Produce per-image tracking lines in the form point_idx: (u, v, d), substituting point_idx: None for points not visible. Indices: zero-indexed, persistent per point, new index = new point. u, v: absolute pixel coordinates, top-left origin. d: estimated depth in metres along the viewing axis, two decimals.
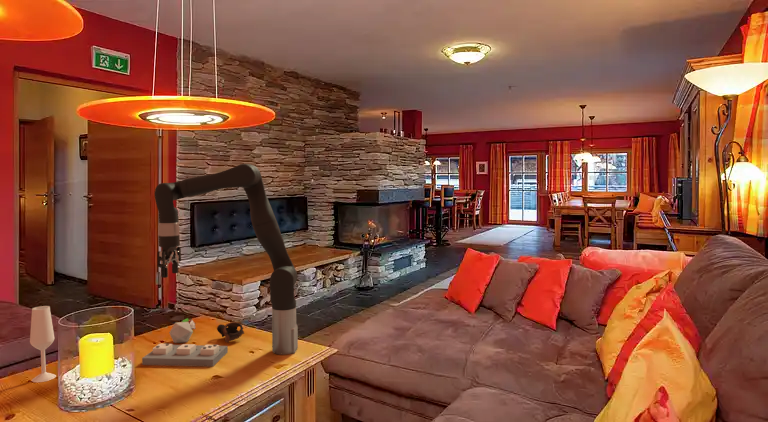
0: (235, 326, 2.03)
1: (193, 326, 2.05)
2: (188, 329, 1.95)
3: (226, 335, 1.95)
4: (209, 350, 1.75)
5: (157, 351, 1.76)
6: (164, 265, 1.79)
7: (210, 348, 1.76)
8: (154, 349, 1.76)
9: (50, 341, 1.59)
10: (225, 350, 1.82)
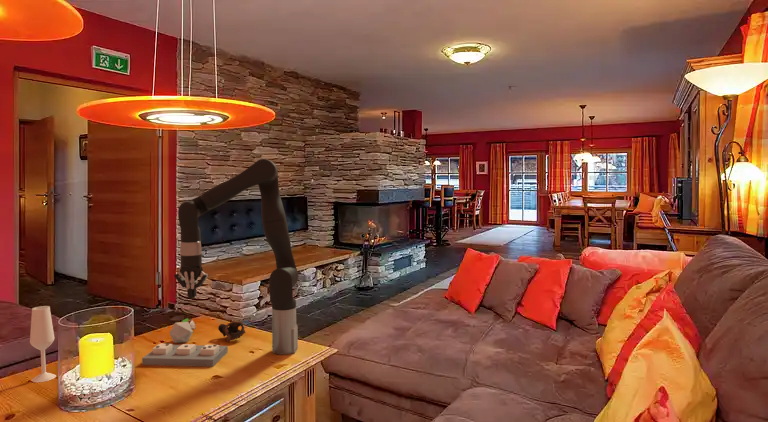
0: (236, 326, 2.03)
1: (193, 326, 2.05)
2: (188, 329, 1.95)
3: (227, 334, 1.96)
4: (209, 350, 1.75)
5: (157, 351, 1.76)
6: None
7: (210, 348, 1.76)
8: (154, 349, 1.76)
9: (50, 341, 1.59)
10: (225, 350, 1.82)
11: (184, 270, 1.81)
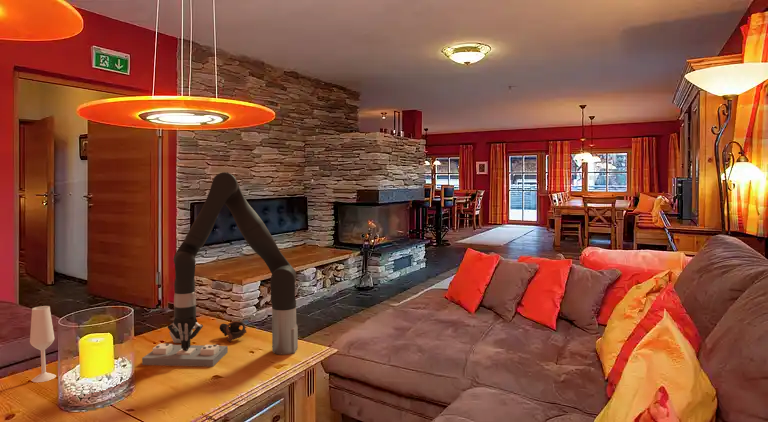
0: (237, 325, 2.04)
1: None
2: None
3: (229, 334, 1.96)
4: (209, 350, 1.75)
5: (157, 351, 1.76)
6: (194, 335, 1.79)
7: (210, 348, 1.76)
8: (154, 349, 1.76)
9: (50, 341, 1.59)
10: (225, 350, 1.82)
11: (178, 321, 1.77)
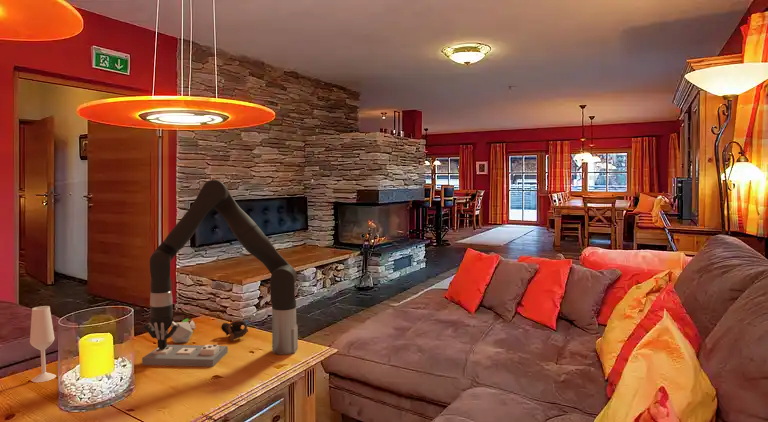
0: (239, 324, 2.05)
1: (193, 326, 2.05)
2: (188, 329, 1.95)
3: (230, 333, 1.97)
4: (209, 350, 1.75)
5: None
6: (171, 335, 1.79)
7: (210, 348, 1.76)
8: (154, 352, 1.76)
9: (50, 341, 1.59)
10: (225, 350, 1.82)
11: (154, 321, 1.77)
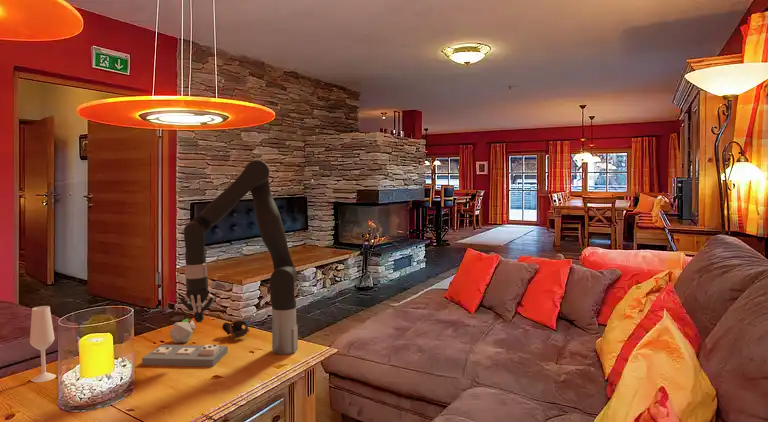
0: (240, 324, 2.05)
1: (193, 326, 2.05)
2: (188, 329, 1.95)
3: (232, 333, 1.98)
4: (209, 350, 1.75)
5: None
6: (207, 307, 1.78)
7: (210, 348, 1.76)
8: (154, 353, 1.76)
9: (50, 341, 1.59)
10: (225, 350, 1.82)
11: (190, 293, 1.75)
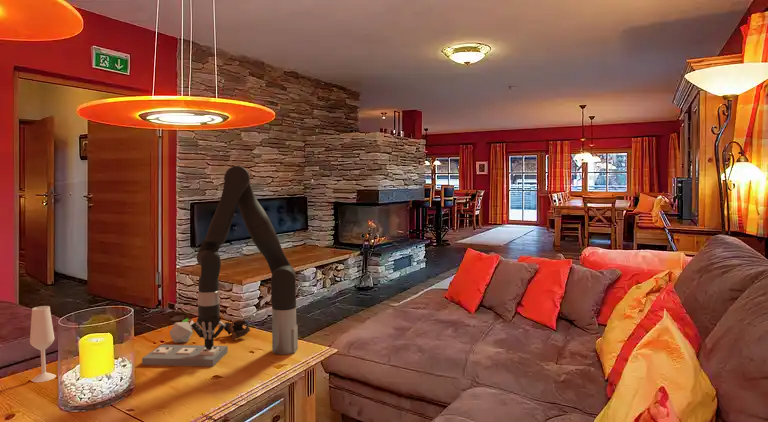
0: (241, 324, 2.06)
1: None
2: (188, 329, 1.95)
3: (233, 332, 1.98)
4: (209, 352, 1.75)
5: None
6: (217, 334, 1.79)
7: (210, 350, 1.76)
8: (154, 353, 1.76)
9: (50, 341, 1.59)
10: (225, 350, 1.82)
11: (201, 320, 1.76)
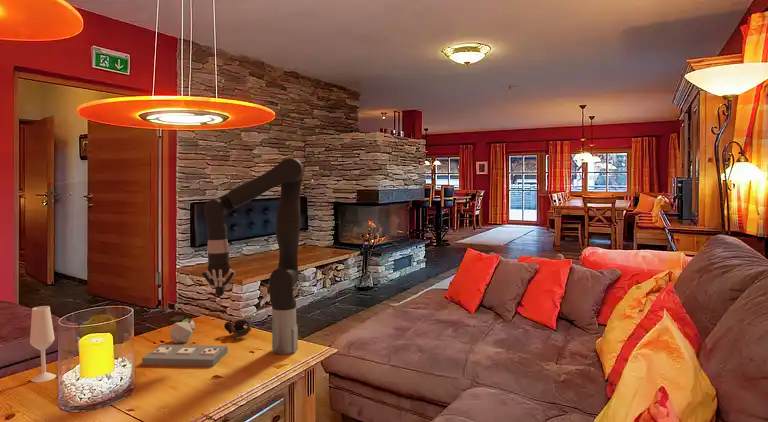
0: (242, 323, 2.06)
1: (193, 326, 2.05)
2: (188, 329, 1.95)
3: (234, 332, 1.99)
4: (209, 354, 1.75)
5: None
6: None
7: (210, 352, 1.76)
8: (154, 353, 1.76)
9: (50, 341, 1.59)
10: (225, 350, 1.82)
11: (212, 268, 1.81)
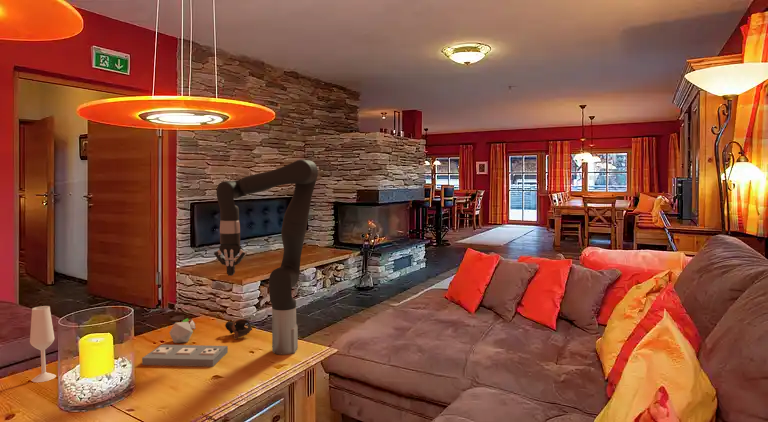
0: (243, 323, 2.07)
1: (193, 326, 2.05)
2: (188, 329, 1.95)
3: (235, 332, 1.99)
4: (209, 354, 1.75)
5: None
6: None
7: (210, 352, 1.76)
8: (154, 353, 1.76)
9: (50, 341, 1.59)
10: (225, 350, 1.82)
11: (223, 248, 1.87)
